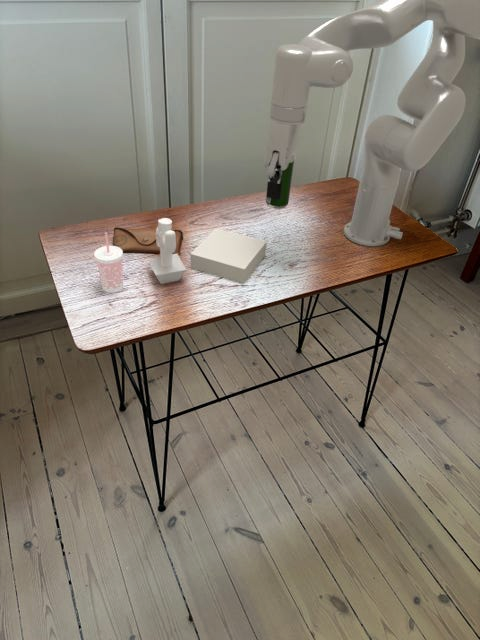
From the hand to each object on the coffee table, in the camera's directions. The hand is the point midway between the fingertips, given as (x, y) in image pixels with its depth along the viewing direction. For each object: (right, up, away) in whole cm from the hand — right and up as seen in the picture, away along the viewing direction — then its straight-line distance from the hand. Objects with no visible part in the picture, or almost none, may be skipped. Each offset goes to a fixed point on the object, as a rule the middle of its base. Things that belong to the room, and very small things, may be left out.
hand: (278, 192), depth 118 cm
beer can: (0, -2, +2) cm, 3 cm away
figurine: (-26, -20, +3) cm, 33 cm away
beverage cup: (-38, -22, -1) cm, 44 cm away
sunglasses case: (-33, -11, +13) cm, 37 cm away
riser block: (-12, -15, +9) cm, 21 cm away
